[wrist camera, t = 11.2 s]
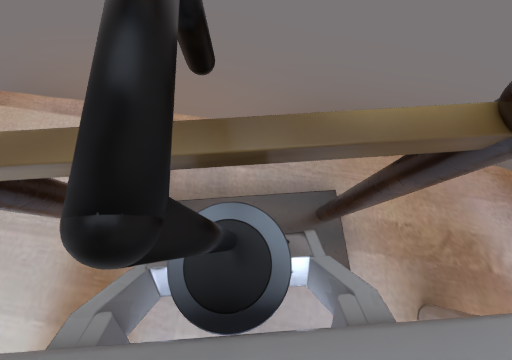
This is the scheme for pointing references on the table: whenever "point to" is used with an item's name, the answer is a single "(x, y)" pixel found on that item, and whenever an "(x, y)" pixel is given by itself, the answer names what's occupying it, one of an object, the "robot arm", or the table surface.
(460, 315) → the milkshake
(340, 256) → the rack
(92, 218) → the dark cylindrical piece
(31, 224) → the table surface
